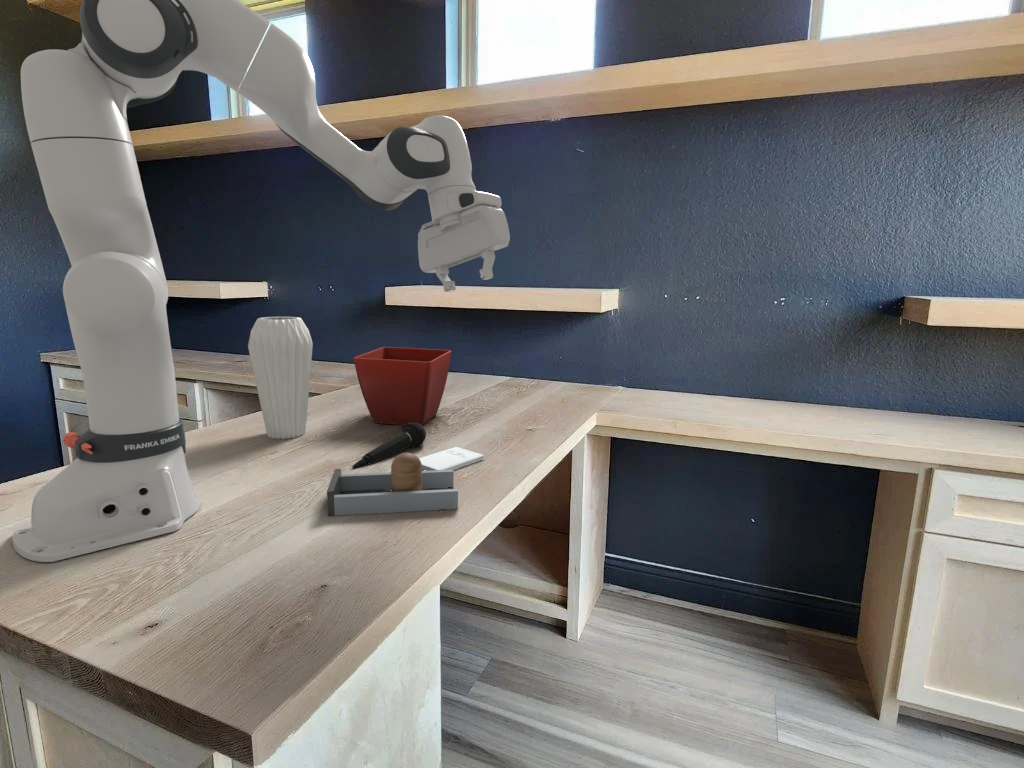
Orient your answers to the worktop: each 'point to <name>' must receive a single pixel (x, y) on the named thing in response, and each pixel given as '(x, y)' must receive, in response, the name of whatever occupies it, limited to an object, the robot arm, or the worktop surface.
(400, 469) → the peg
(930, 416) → the worktop surface
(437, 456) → the external hard drive
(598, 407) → the worktop surface
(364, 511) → the channel
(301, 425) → the vase
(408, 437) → the microphone
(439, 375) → the plant pot
